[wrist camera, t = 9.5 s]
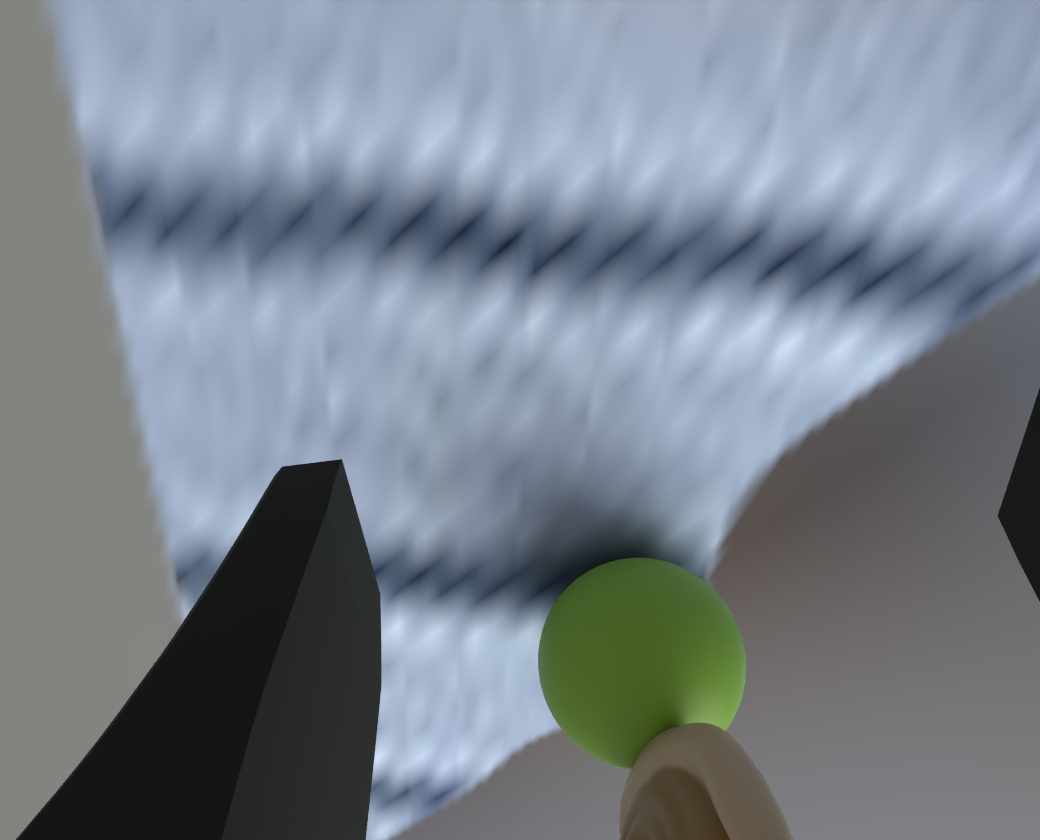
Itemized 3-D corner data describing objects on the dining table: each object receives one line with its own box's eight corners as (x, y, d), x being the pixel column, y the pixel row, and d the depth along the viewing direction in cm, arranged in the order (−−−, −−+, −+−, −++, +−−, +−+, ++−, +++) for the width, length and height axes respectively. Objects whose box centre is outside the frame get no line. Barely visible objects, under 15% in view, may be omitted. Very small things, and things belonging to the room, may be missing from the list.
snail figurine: (766, 511, 25) (977, 1002, 15) (666, 655, 28) (787, 1124, 19) (585, 471, 23) (695, 985, 14) (503, 628, 27) (546, 1122, 17)
